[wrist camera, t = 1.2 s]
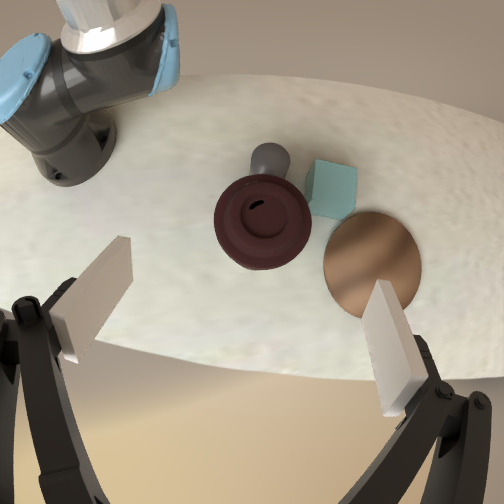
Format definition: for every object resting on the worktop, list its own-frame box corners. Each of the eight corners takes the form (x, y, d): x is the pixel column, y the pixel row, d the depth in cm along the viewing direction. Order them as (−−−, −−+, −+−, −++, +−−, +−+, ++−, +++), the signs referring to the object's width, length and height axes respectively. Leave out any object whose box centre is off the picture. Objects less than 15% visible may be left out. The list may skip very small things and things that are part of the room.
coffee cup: (289, 281, 45) (316, 267, 30) (218, 278, 44) (209, 264, 30) (290, 212, 46) (314, 170, 32) (221, 209, 46) (216, 164, 31)
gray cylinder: (242, 177, 47) (243, 155, 40) (268, 159, 48) (273, 136, 41) (263, 202, 47) (268, 184, 40) (289, 183, 47) (298, 163, 40)
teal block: (302, 212, 47) (311, 199, 41) (306, 176, 48) (315, 158, 42) (341, 220, 47) (355, 208, 41) (344, 184, 48) (357, 168, 42)
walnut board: (301, 257, 45) (302, 256, 44) (375, 195, 48) (378, 192, 47) (367, 342, 44) (370, 343, 43) (433, 273, 46) (437, 272, 45)
